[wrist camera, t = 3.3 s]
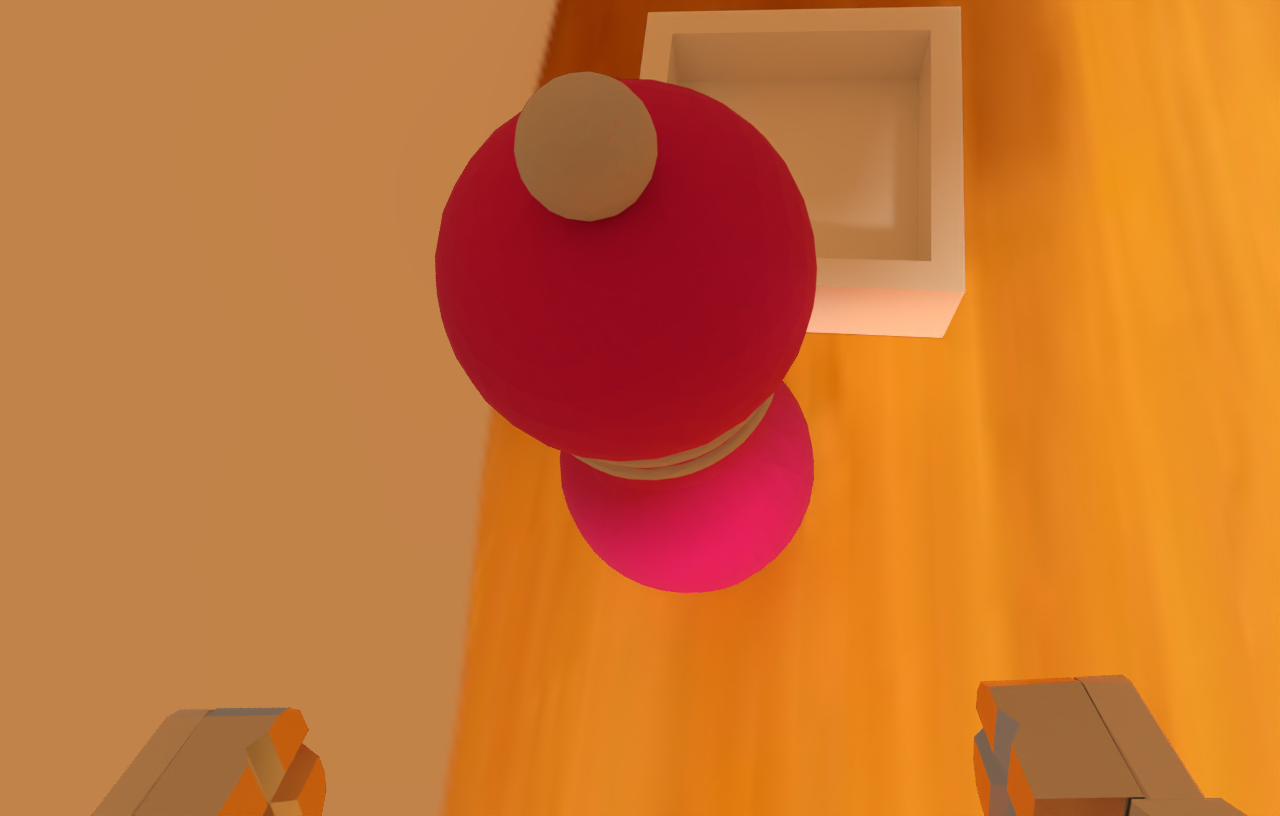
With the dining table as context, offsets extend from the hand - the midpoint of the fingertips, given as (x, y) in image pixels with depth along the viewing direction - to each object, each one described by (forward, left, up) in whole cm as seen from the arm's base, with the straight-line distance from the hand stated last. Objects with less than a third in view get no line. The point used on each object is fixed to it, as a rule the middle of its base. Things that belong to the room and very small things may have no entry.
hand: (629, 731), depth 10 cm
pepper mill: (-2, -6, -17) cm, 19 cm away
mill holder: (-10, -15, -17) cm, 25 cm away
